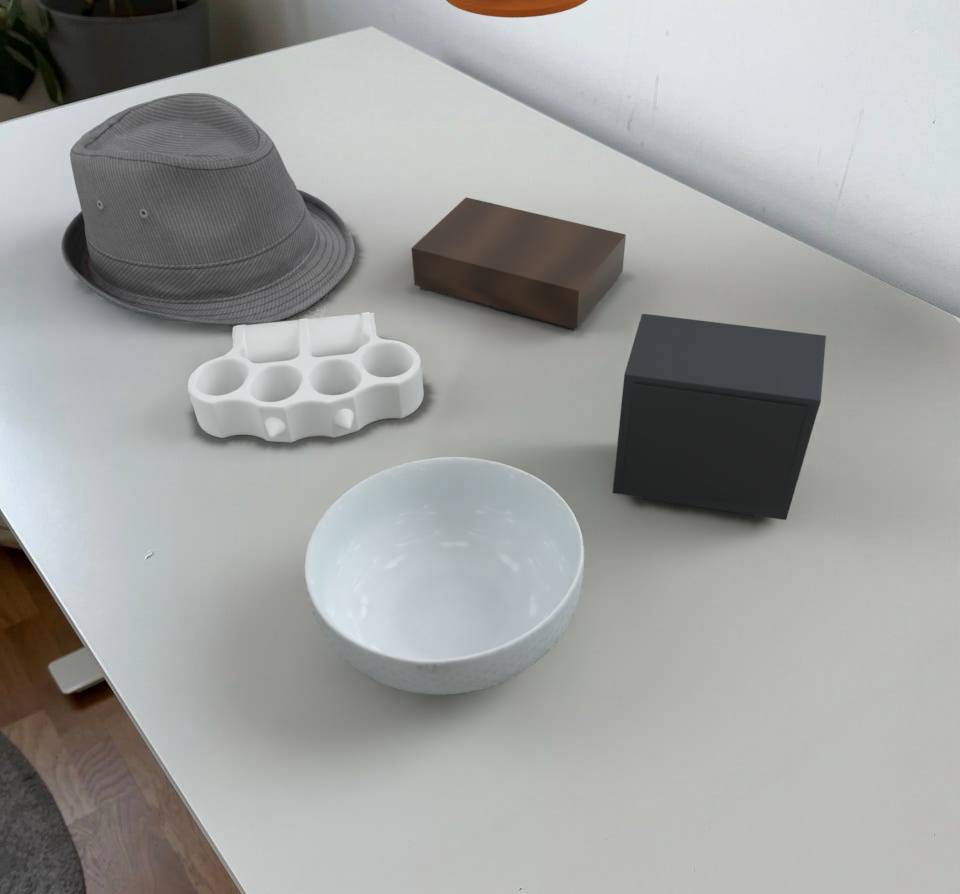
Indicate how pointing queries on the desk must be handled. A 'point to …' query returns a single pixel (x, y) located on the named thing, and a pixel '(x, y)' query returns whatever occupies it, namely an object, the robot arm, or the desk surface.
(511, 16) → the top hat
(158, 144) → the fedora
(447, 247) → the brown wooden block
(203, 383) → the white brass knuckles
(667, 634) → the desk surface
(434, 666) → the cereal bowl
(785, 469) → the dark grey cabinet box
